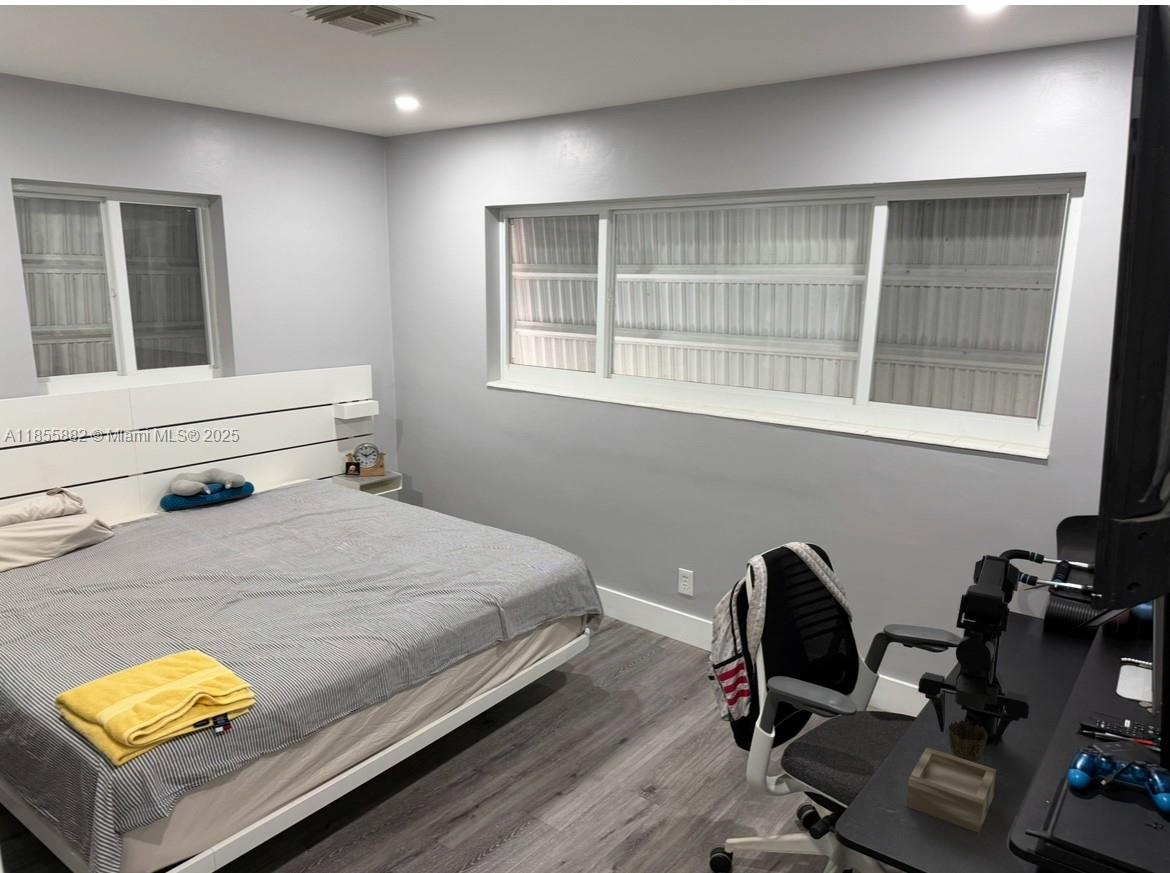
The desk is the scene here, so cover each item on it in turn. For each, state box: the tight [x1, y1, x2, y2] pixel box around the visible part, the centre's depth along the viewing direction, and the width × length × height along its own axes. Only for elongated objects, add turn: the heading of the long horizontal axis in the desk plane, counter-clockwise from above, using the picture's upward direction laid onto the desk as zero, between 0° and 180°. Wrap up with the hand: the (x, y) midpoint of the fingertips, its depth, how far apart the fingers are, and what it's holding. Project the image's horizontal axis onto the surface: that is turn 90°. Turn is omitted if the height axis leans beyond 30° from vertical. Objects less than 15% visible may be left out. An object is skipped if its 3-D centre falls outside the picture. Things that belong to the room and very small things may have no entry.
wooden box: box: [906, 746, 997, 834], centre depth 158 cm, size 13×13×6 cm
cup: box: [948, 719, 988, 763], centre depth 170 cm, size 8×7×8 cm
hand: (968, 738), depth 154 cm, fingers open, 9 cm apart
